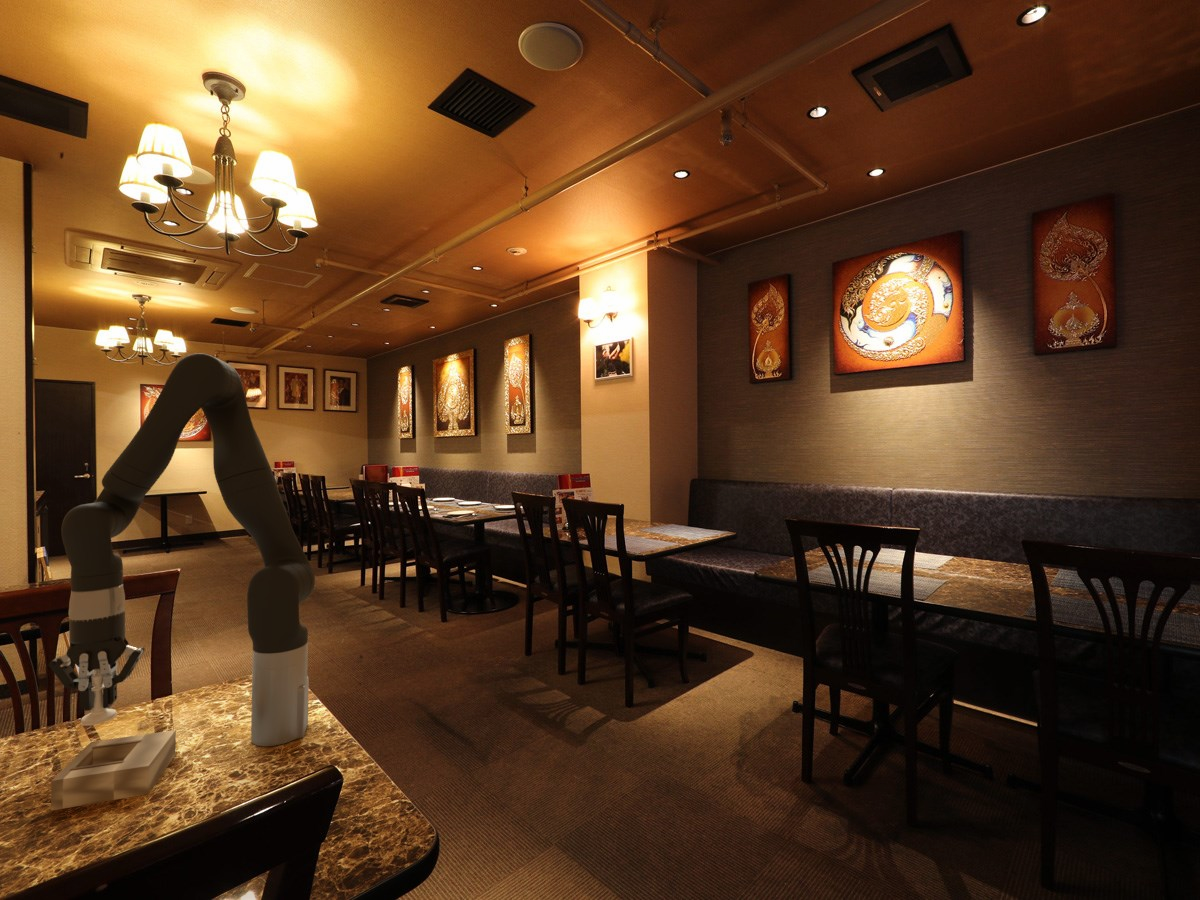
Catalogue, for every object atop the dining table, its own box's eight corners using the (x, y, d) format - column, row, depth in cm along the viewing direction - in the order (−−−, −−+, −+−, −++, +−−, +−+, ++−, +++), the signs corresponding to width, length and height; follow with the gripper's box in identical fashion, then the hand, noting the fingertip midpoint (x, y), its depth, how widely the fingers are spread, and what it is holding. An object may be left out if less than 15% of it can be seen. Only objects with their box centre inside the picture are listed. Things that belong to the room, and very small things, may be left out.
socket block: (175, 755, 99) (175, 729, 99) (148, 794, 88) (148, 764, 88) (90, 767, 95) (91, 740, 95) (50, 810, 83) (51, 779, 83)
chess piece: (95, 726, 97) (94, 670, 97) (72, 724, 98) (72, 668, 98) (124, 713, 102) (123, 659, 102) (102, 711, 103) (102, 658, 103)
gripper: (152, 602, 106) (153, 692, 106) (59, 611, 101) (60, 706, 101) (136, 613, 99) (137, 709, 99) (36, 622, 94) (37, 724, 94)
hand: (98, 707), depth 100 cm, fingers closed on chess piece
